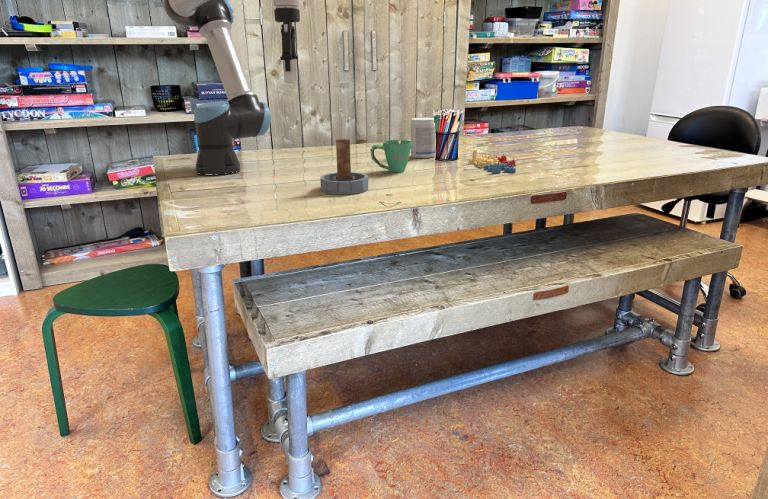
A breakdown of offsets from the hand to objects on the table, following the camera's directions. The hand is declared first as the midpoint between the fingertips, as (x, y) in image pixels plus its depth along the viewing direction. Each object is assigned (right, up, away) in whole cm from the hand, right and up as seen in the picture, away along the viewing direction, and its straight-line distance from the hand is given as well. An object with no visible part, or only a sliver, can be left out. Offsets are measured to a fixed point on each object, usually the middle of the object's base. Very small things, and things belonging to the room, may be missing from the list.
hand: (291, 81), depth 169 cm
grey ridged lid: (+17, -35, -8) cm, 39 cm away
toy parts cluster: (+68, -21, +32) cm, 78 cm away
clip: (+17, -35, -8) cm, 39 cm away
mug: (+32, -26, +16) cm, 44 cm away
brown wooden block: (+17, -34, -8) cm, 39 cm away
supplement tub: (+44, -16, +44) cm, 64 cm away
